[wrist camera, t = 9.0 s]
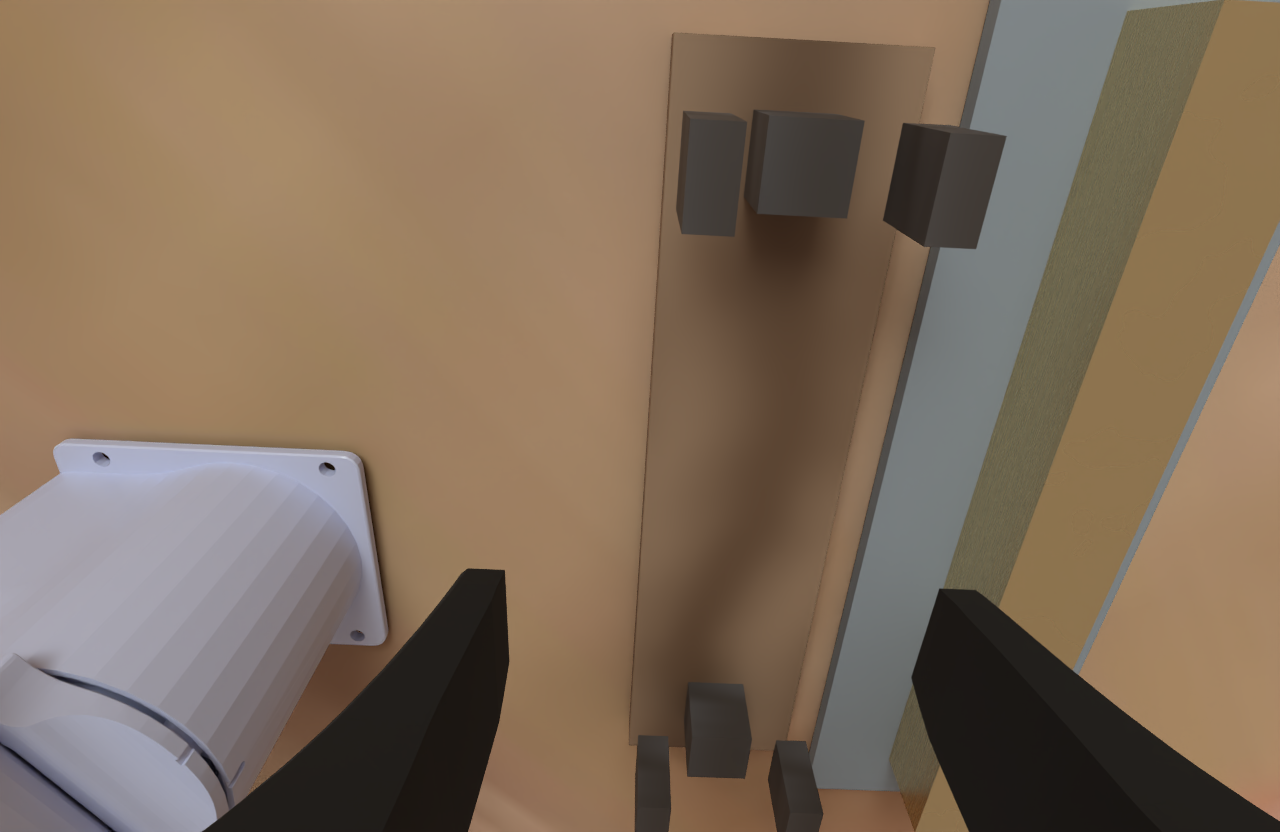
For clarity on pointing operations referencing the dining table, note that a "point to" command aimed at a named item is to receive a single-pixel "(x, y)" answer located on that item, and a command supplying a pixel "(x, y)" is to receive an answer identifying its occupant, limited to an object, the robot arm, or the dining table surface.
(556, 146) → the dining table surface
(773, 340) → the rail stand
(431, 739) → the robot arm
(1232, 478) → the dining table surface
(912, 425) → the mat
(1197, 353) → the rail
